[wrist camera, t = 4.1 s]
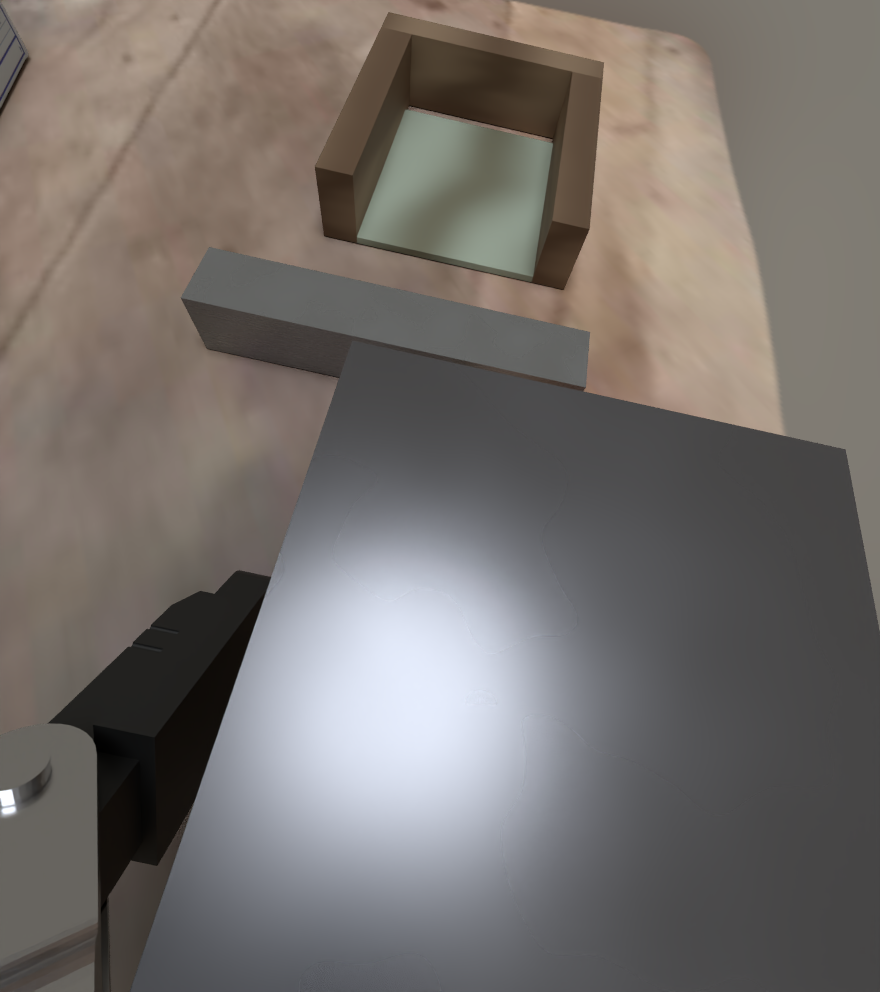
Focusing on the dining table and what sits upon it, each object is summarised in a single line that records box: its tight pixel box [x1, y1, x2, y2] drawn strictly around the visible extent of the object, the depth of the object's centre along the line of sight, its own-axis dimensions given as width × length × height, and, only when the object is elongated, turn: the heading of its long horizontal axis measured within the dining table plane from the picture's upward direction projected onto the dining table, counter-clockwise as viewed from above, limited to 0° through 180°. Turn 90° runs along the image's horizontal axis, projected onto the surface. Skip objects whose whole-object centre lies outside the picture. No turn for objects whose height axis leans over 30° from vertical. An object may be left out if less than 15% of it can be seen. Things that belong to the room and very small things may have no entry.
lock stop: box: [130, 341, 880, 992], centre depth 9 cm, size 5×5×12 cm
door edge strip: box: [181, 247, 590, 391], centre depth 18 cm, size 14×2×2 cm, turn 79°
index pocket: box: [315, 12, 604, 289], centre depth 22 cm, size 11×12×3 cm
